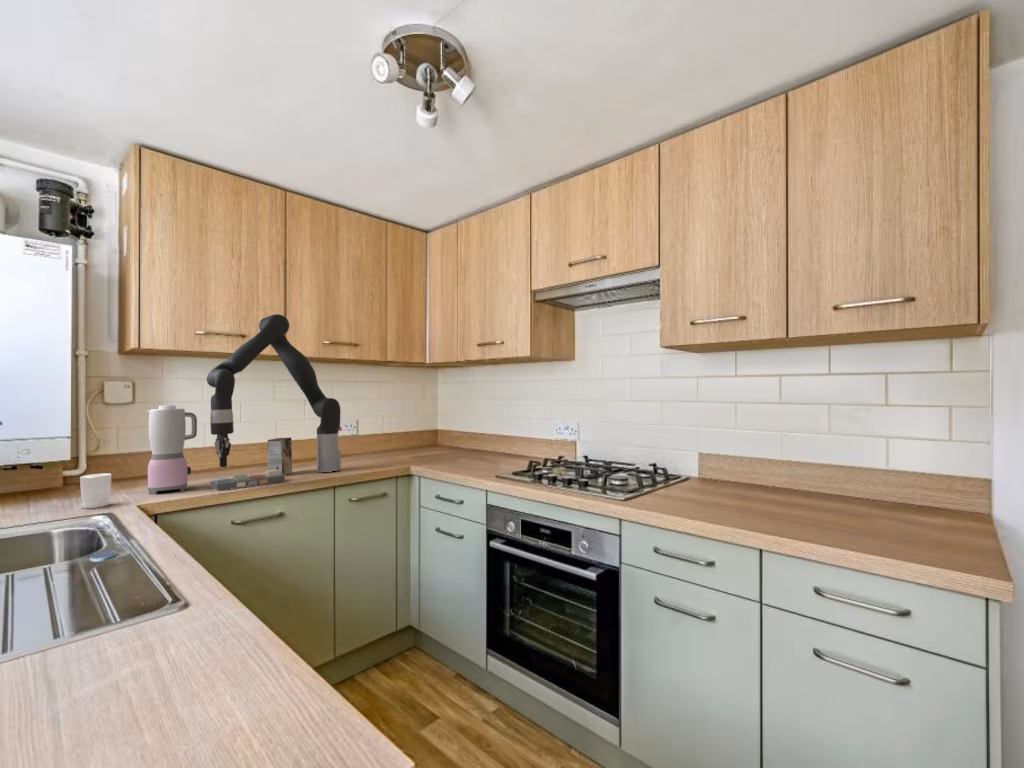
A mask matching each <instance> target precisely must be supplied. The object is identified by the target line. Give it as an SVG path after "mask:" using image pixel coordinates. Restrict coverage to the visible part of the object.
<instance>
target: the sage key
mask: <svg viewBox="0 0 1024 768" xmlns="http://www.w3.org/2000/svg"><path fill="white" fill-rule="evenodd" d="M247 477H248V473H245V472H243V473H233V474H232V478H233V480H234V481H238V480H246V479H247Z"/></svg>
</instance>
